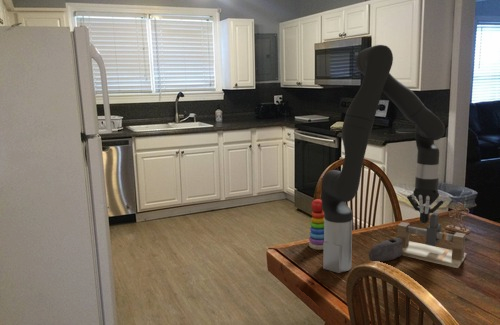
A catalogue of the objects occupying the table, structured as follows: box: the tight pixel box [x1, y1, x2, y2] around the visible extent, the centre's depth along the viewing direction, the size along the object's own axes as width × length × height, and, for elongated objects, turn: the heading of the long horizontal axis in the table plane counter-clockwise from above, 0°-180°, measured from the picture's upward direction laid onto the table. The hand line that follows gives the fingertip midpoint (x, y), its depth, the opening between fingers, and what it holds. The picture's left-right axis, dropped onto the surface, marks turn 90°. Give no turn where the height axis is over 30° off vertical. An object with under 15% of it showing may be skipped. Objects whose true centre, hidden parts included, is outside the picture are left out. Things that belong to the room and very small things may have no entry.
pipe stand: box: [396, 221, 468, 269], centre depth 153 cm, size 12×22×10 cm, turn 51°
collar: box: [425, 212, 442, 247], centre depth 151 cm, size 6×3×10 cm, turn 141°
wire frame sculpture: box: [444, 202, 471, 235], centre depth 176 cm, size 9×4×12 cm, turn 38°
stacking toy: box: [308, 198, 324, 251], centre depth 162 cm, size 8×8×19 cm
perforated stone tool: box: [368, 237, 403, 263], centre depth 150 cm, size 15×5×7 cm, turn 114°
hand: (424, 222), depth 153 cm, fingers closed
